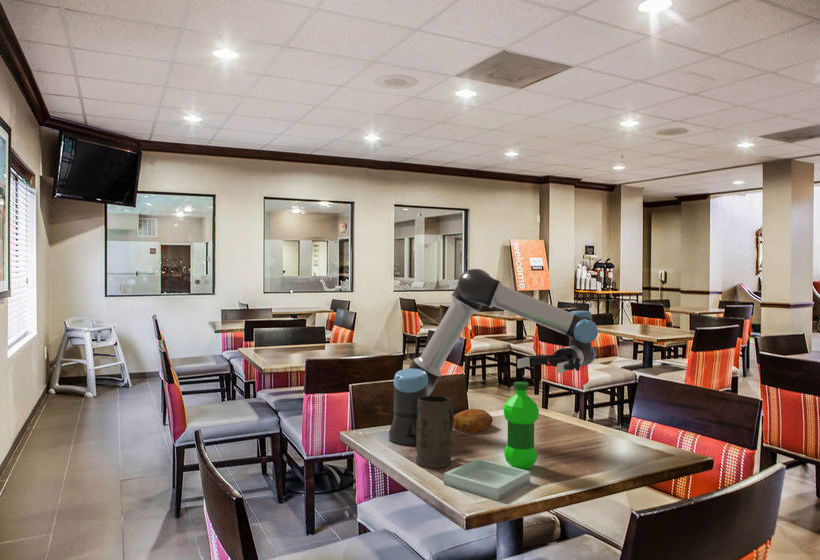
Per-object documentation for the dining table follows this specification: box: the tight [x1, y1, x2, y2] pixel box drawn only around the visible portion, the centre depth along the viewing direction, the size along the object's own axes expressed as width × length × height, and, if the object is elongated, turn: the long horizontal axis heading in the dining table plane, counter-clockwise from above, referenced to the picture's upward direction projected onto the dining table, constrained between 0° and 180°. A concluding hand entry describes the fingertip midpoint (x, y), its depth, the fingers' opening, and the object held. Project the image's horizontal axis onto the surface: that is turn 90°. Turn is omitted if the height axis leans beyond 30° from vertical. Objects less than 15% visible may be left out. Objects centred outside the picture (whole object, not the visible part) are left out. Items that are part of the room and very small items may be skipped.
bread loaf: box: [453, 408, 493, 433], centre depth 215 cm, size 14×16×8 cm
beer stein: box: [415, 395, 455, 469], centre depth 176 cm, size 15×11×20 cm
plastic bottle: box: [503, 381, 540, 470], centre depth 171 cm, size 10×10×25 cm
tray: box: [443, 457, 531, 501], centre depth 157 cm, size 17×17×3 cm
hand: (537, 366), depth 178 cm, fingers open, 13 cm apart
